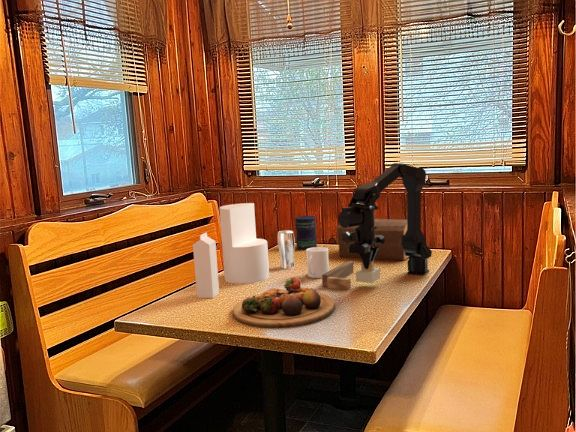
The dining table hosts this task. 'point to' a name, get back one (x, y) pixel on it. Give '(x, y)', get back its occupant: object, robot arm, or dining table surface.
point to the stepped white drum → (242, 245)
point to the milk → (206, 267)
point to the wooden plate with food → (284, 307)
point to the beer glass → (286, 248)
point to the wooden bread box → (388, 250)
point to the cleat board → (338, 277)
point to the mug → (317, 261)
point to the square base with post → (368, 273)
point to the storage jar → (305, 232)
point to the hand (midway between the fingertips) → (367, 268)
